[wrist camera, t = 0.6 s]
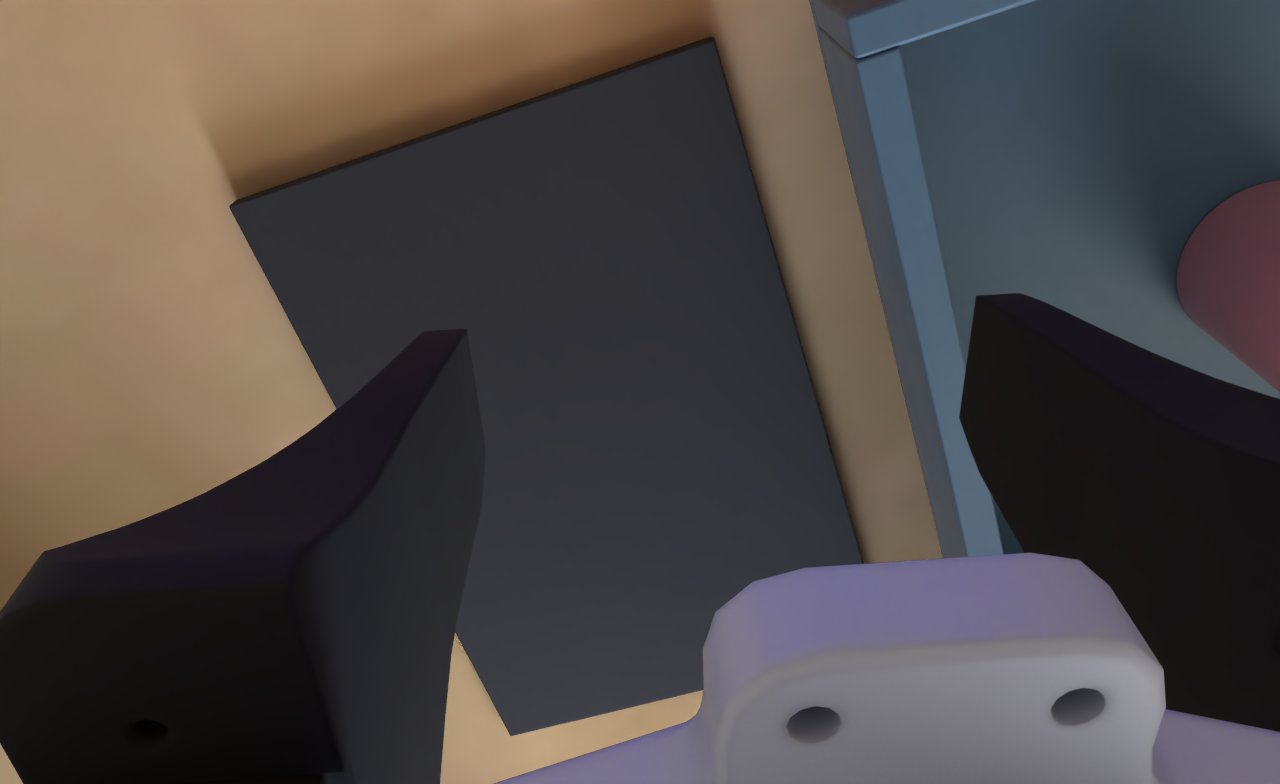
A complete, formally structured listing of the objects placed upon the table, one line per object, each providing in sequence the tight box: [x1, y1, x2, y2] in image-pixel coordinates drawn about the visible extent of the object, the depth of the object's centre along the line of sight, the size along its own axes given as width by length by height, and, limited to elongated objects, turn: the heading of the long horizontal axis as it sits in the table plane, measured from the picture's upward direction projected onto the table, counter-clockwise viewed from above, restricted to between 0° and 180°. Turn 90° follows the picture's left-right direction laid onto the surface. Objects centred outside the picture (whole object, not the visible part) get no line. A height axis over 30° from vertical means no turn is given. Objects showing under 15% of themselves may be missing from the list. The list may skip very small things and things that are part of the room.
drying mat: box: [230, 37, 864, 736], centre depth 27 cm, size 18×12×1 cm, turn 18°
